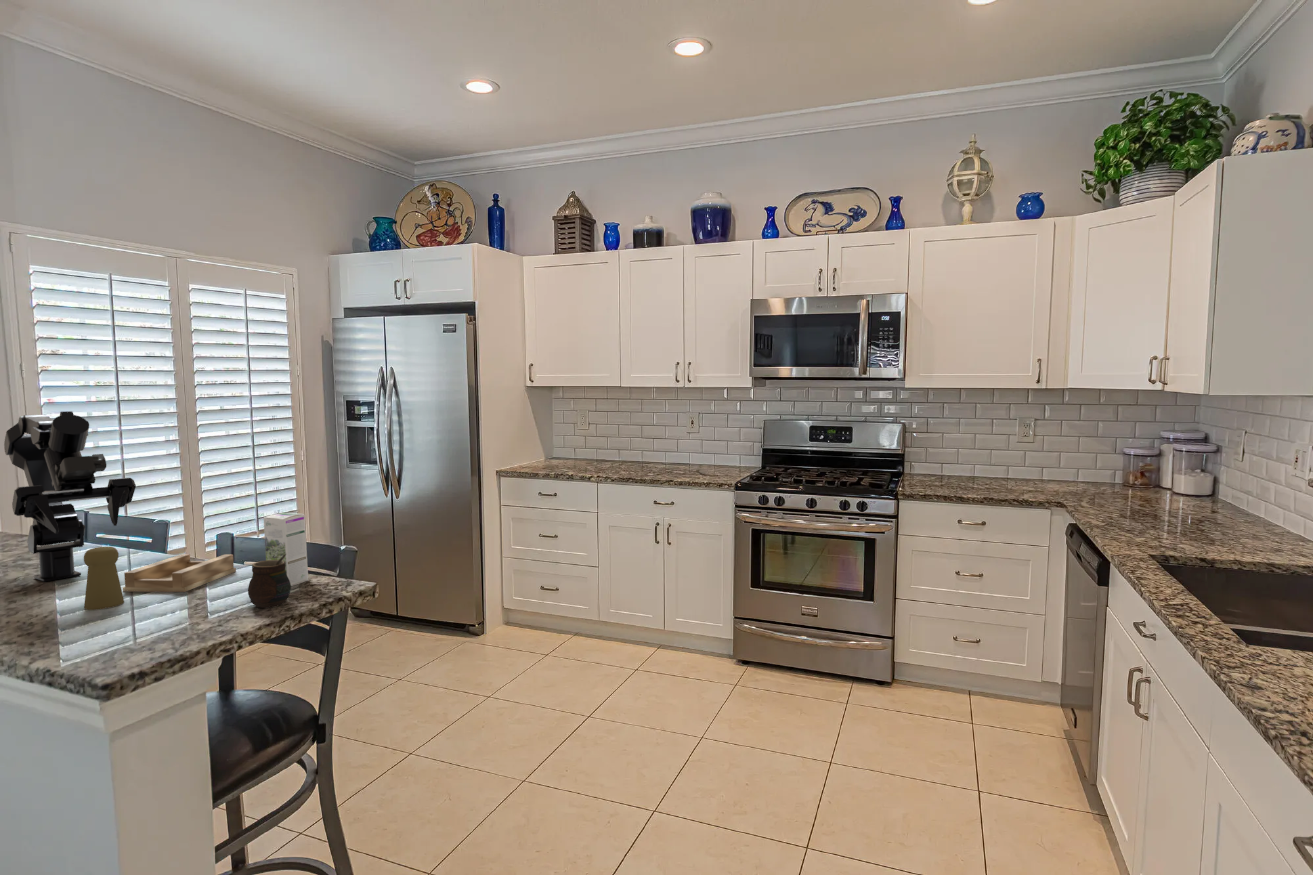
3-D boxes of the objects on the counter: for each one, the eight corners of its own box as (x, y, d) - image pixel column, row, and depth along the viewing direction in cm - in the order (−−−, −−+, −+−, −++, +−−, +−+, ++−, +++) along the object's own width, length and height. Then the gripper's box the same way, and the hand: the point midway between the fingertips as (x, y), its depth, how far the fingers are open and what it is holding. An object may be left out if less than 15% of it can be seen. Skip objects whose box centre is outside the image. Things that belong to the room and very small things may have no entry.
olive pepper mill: (102, 610, 132) (98, 551, 131) (75, 608, 133) (71, 550, 132) (132, 601, 137) (128, 544, 137) (106, 599, 139) (102, 543, 138)
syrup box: (309, 580, 151) (306, 512, 150) (286, 587, 146) (283, 517, 145) (288, 578, 153) (285, 511, 152) (265, 585, 148) (262, 516, 147)
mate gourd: (264, 598, 139) (262, 547, 138) (301, 599, 138) (299, 548, 137) (239, 609, 131) (237, 556, 131) (277, 611, 131) (276, 557, 130)
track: (179, 570, 160) (179, 554, 160) (236, 571, 159) (235, 554, 159) (123, 591, 144) (121, 572, 144) (185, 591, 143) (184, 573, 143)
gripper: (11, 444, 134) (29, 508, 128) (129, 438, 149) (151, 495, 143) (4, 483, 139) (22, 546, 133) (120, 474, 154) (140, 530, 148)
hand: (87, 528), depth 139 cm, fingers open, 9 cm apart
